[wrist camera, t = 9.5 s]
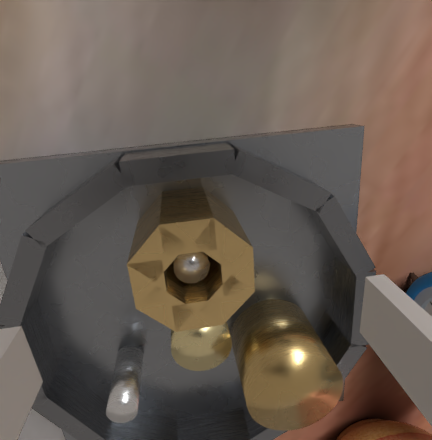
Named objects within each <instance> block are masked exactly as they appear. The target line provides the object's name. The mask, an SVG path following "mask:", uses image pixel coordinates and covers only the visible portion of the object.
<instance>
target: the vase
mask: <svg viewBox="0 0 432 440" xmlns="http://www.w3.org/2000/svg"><path fill="white" fill-rule="evenodd" d="M336 440H432V434H430V433H428V432H427V431H425V430H423V429H421V428H418V427H416V426H413V425H411V424H408V423H404V422H399V421H390V420H385V419H379V418H371V419H365V420H361V421H358V422H356V423H354V424H352V425H350V426H349V427H347V428H346V429H345V430H343V431H342V432H341V433H340V434H339V435H338V437H337V438H336Z"/></svg>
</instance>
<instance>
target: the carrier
mask: <svg viewBox="0 0 432 440" xmlns="http://www.w3.org/2000/svg"><path fill="white" fill-rule="evenodd" d="M363 137H364V126H361V125H355V124H350V125H340V126H331V127H321V128H312V129H302V130H292V131H283V132H273V133H264V134H254V135H244V136H235V137H225V138H215V139H206V140H196V141H187V142H177V143H167V144H158V145H148V146H139V147H129V148H119V149H110V150H100V151H91V152H81V153H71V154H62V155H52V156H43V157H33V158H23V159H14V160H4V161H0V261H1V264H2V266H3V269H4V272H5V275H6V277H7V280H8V282H7V285H6V288H5V291H4V295H3V298H2V301H1V304H0V329H4V328H11V327H18V326H22V329H23V331H24V334H25V337H26V339H27V342H28V344H29V347H30V349H31V352H32V355H33V357H34V360H35V362H36V365H37V367H38V370H39V373H40V375H41V378H42V380H43V383H42V385H41V387H40V389H39V392H38V394H37V396H36V399H35V401H34V403H33V405H32V409H34V410H35V411H37V412H38V413H39V414H41V415H42V416H44V417H45V418H47V419H48V420H49V421H51V422H52V423H54V424H55V425H57V426H58V427H60V428H61V429H62V431H63V434H64V436H65V439H66V440H273V439H275V438H276V437H278V436H280V435H281V434H283V433H285V432H286V431H288V430H295V429H300V428H303V427H306V426H309V425H311V424H313V423H315V422H317V421H319V420H320V419H322V418H323V417H325V416H326V415H327V414H328V413H329V412H330V411H331V410H332V409H333V408H334V407H335V405H336V404H337V402H338V401H343V398H344V385H345V378H346V377H347V375H348V374H349V372H350V371H351V370H352V368H353V367H354V365H355V364H356V363H357V361H358V360H359V358H360V357H361V356H362V354H363V353H364V351H365V350H366V349H367V347H366V346H365V345H368V344H369V343H368V342H367V341H366V340H365V338H364V337H363V336H362V334H361V333H360V324H361V315H362V306H363V296H364V287H365V278H366V277H368V276H375V275H376V271H375V270H374V268H375V266H374V264H373V262H372V261H371V259H370V257H369V255H368V253H367V252H366V250H365V248H364V246H363V245H362V243H361V241H360V239H359V238H358V236H357V234H356V228H357V215H358V202H359V189H360V176H361V163H362V150H363ZM198 187H203V188H205V189H206V190H207V191H209V192H210V193H211V194H212V195H214V196H215V197H216V198H217V199H219V200H220V201H221V202H223V203H224V204H225V205H226V206H228V207H229V208H230V209H231V210H233V212H234V214H235V215H236V217H237V219H238V221H239V223H240V225H241V226H242V228H243V230H244V232H245V234H246V236H247V237H248V239H249V241H250V243H251V245H252V247H253V258H254V281H255V292H254V293H253V294H252V295H251V296H250V297H249V298H248V299H247V300H246V301H245V302H244V304H243V305H242V306H241V307H240V308H239V309H238V310H237V311H236V312H235V313H234V314H233V315H232V316H231V317H230V318H229V319H228V320H227V321H226V323H225V324H224V325H218V326H212V327H205V328H199V329H192V330H186V331H179V332H175V331H173V330H172V329H170V328H168V327H167V326H165V325H163V324H161V323H160V322H158V321H156V320H154V319H153V318H151V317H149V316H148V315H146V314H144V313H142V312H141V311H139V310H137V309H136V307H135V302H134V297H133V292H132V287H131V282H130V277H129V272H128V267H127V262H128V258H129V254H130V250H131V246H132V242H133V238H134V234H135V231H136V227H137V223H138V221H139V220H140V218H141V217H142V216H143V215H144V214H145V212H146V211H147V210H148V209H149V207H150V206H151V205H152V204H153V202H154V201H155V200H156V199H157V197H158V196H159V195H160V194H161V192H163V191H171V190H180V189H189V188H198ZM173 264H174V273H175V275H176V277H177V278H178V279H179V280H181V281H182V282H185V283H197V282H199V281H201V280H203V279H204V278H205V277H206V276H207V274H208V272H209V269H210V265H209V260H208V256H207V254H206V253H204V252H196V253H188V254H180V255H178V256H177V257H176V258H175V260H174V261H173Z"/></svg>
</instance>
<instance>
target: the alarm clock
mask: <svg viewBox="0 0 432 440" xmlns="http://www.w3.org/2000/svg"><path fill="white" fill-rule="evenodd" d="M410 276H411V278H412V281H413V283H412V284H411V286H410V287H409V288H408V290H407V292H406V294H407V295H408V296H409V297H410V298H411V299H412V300H414V301H415V302H416V303H417V304H418V305H419V306H420V307H421V308H423V309H424V310H425V311H426V312H427V313H428V314H429V315H430V316H432V272H430V273H427V274H425V275H423V276H421V277H419V278H418V277H417V276H416V275H415V274H414V273H410Z"/></svg>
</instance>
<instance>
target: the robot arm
mask: <svg viewBox="0 0 432 440" xmlns="http://www.w3.org/2000/svg"><path fill="white" fill-rule="evenodd" d="M360 333H361V334H362V336H363V337H364V338H365V340H366V341H367V342H368V343H369V345H370V346H371V347H372V349H373V350H374V351H375V353H376V354H377V355H378V357H379V358H380V359H381V361H382V362H383V363H384V364H385V366H386V367H387V368H388V370H389V371H390V372H391V374H392V375H393V376H394V378H395V379H396V380H397V381H398V383H399V384H400V385H401V387H402V388H403V389H404V391H405V392H406V393H407V395H408V396H409V397H410V399H411V400H412V401H413V402H414V404H415V405H416V406H417V408H418V409H419V410H420V412H421V413H422V414H423V416H424V417H425V418H426V419H427V421H428V422H429V423H430V425H431V426H432V316H430V315H429V314H428V313H427V312H426V311H425V310H424V309H423V308H421V307H420V306H419V305H418V304H417V303H416V302H415V301H414V300H412V299H411V298H410V297H409V296H408V295H407V294H406V293H405V292H403V291H402V290H401V289H400V288H399V287H398V286H397V285H396V284H394V283H393V282H392V281H391V280H390V279H389V278H388V277H386V276H385V275H384V274H382V275H375V276H368V277H366V278H365V287H364V296H363V306H362V315H361V324H360ZM42 383H43V380H42V378H41V375H40V373H39V370H38V367H37V365H36V362H35V360H34V357H33V355H32V352H31V349H30V347H29V344H28V342H27V339H26V337H25V334H24V331H23V329H22V326H18V327H11V328H4V329H0V440H18V437H19V435H20V433H21V431H22V428H23V426H24V424H25V421H26V419H27V417H28V415H29V412H30V410H31V408H32V405H33V403H34V401H35V399H36V396H37V394H38V392H39V389H40V387H41V385H42Z"/></svg>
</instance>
